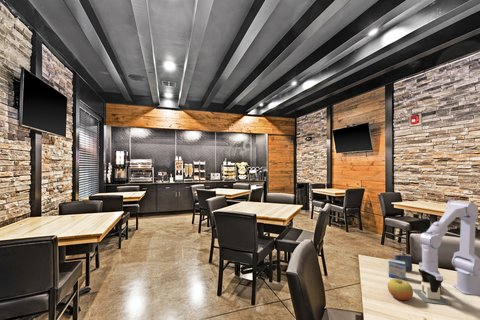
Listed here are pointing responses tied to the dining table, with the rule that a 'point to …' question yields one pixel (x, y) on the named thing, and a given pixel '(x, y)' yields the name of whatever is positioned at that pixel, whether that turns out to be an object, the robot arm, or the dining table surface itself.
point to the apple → (400, 289)
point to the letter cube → (429, 291)
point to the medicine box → (397, 269)
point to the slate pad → (428, 300)
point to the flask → (404, 260)
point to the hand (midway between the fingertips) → (430, 288)
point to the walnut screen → (440, 289)
